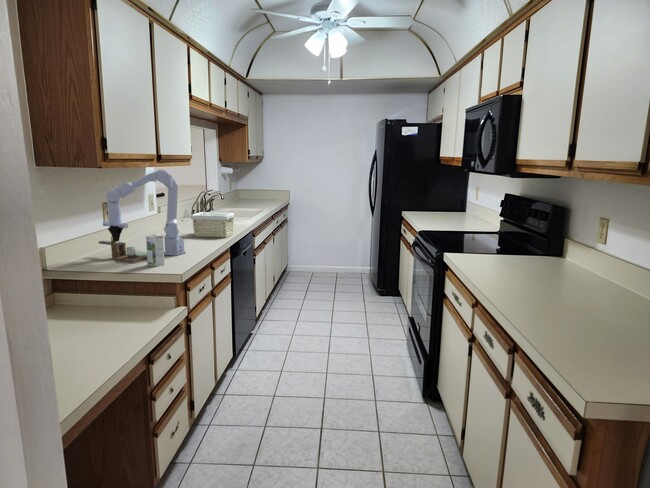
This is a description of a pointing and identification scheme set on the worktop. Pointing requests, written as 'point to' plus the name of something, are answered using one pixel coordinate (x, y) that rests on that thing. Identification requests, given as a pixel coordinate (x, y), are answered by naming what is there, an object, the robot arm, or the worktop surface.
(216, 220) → the storage basket
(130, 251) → the steel peg
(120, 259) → the walnut socket block
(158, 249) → the syrup box
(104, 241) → the dark grey long bar
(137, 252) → the sage rubber pad
